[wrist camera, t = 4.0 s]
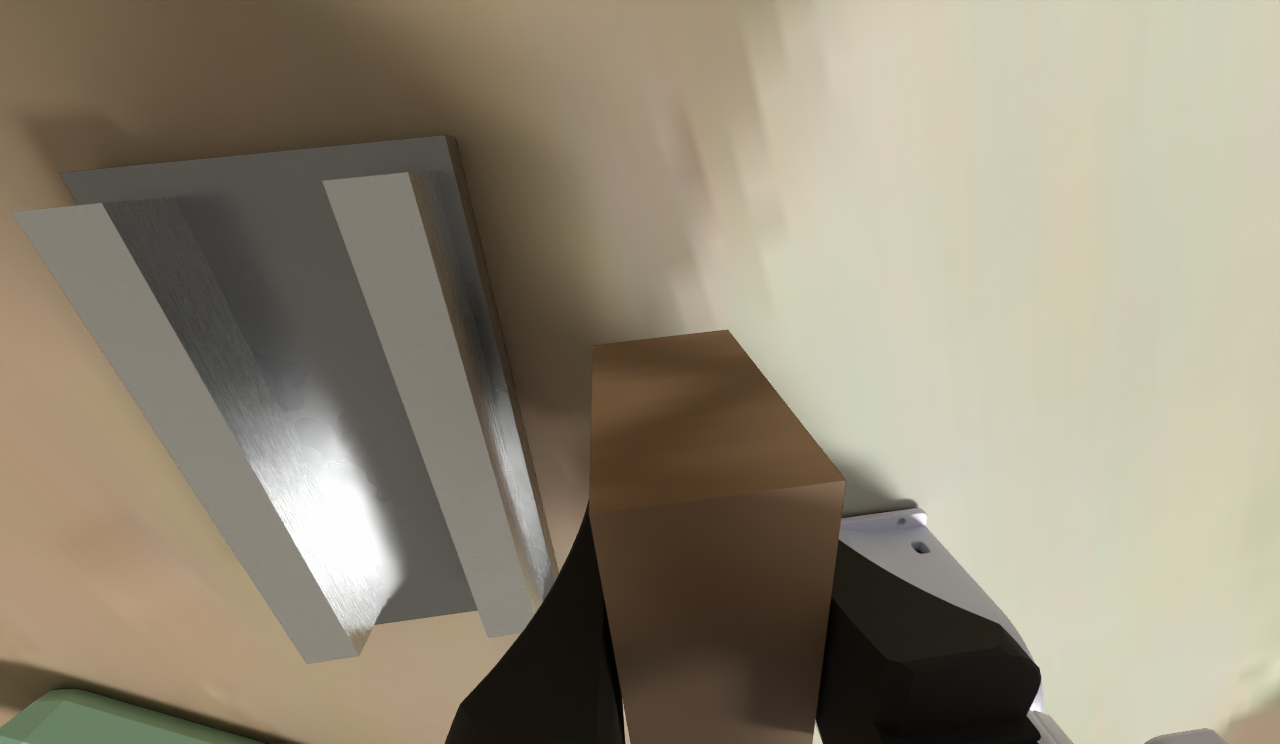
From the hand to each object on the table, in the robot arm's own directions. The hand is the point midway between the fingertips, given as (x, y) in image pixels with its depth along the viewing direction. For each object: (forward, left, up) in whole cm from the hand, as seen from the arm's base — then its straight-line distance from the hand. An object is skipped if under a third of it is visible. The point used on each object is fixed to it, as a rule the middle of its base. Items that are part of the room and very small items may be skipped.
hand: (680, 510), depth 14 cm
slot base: (+12, 0, -8) cm, 14 cm away
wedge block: (0, 0, -2) cm, 2 cm away
